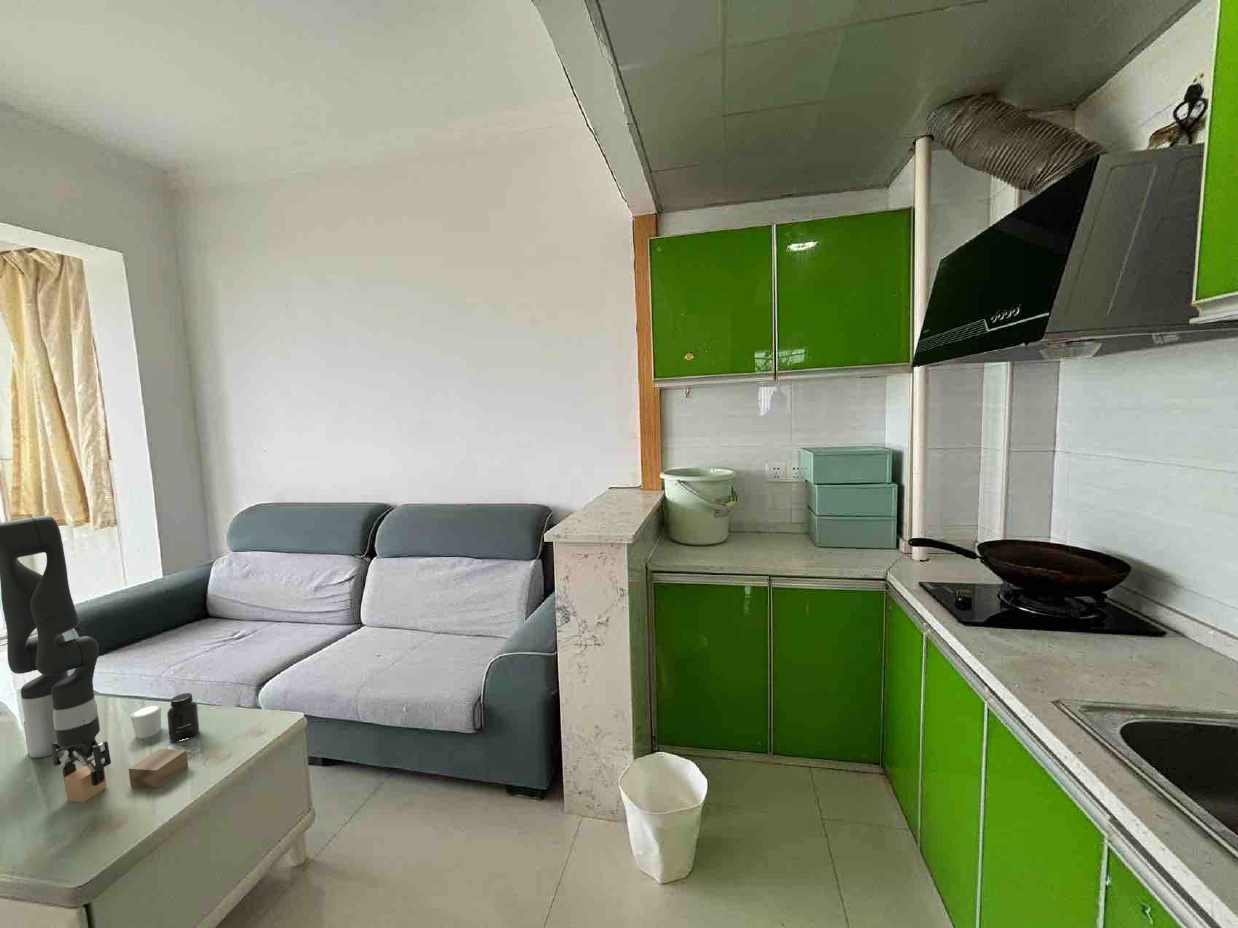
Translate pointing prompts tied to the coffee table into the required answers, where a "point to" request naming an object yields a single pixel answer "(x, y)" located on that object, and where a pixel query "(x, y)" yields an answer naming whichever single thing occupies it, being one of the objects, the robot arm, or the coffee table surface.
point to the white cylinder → (146, 721)
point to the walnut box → (158, 768)
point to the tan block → (82, 785)
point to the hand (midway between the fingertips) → (84, 782)
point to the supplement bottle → (182, 718)
